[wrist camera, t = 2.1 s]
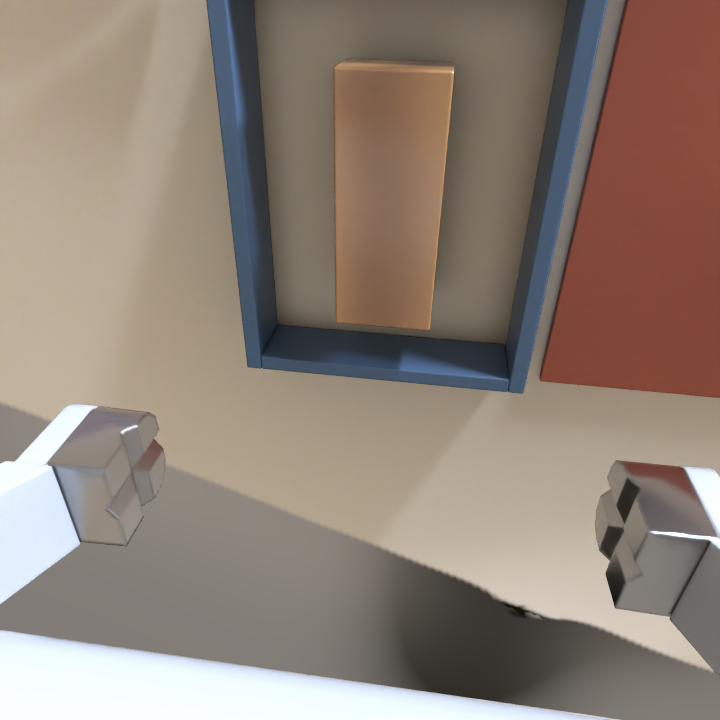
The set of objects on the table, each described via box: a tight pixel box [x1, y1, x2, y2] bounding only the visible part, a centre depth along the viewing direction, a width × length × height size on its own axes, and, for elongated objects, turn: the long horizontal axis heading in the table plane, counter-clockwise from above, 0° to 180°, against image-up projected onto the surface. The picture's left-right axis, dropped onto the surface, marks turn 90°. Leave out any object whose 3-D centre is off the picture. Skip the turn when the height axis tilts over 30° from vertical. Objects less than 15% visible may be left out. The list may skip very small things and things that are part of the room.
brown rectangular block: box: [333, 59, 455, 330], centre depth 26 cm, size 4×11×4 cm, turn 179°
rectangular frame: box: [207, 0, 607, 393], centre depth 26 cm, size 15×19×4 cm
